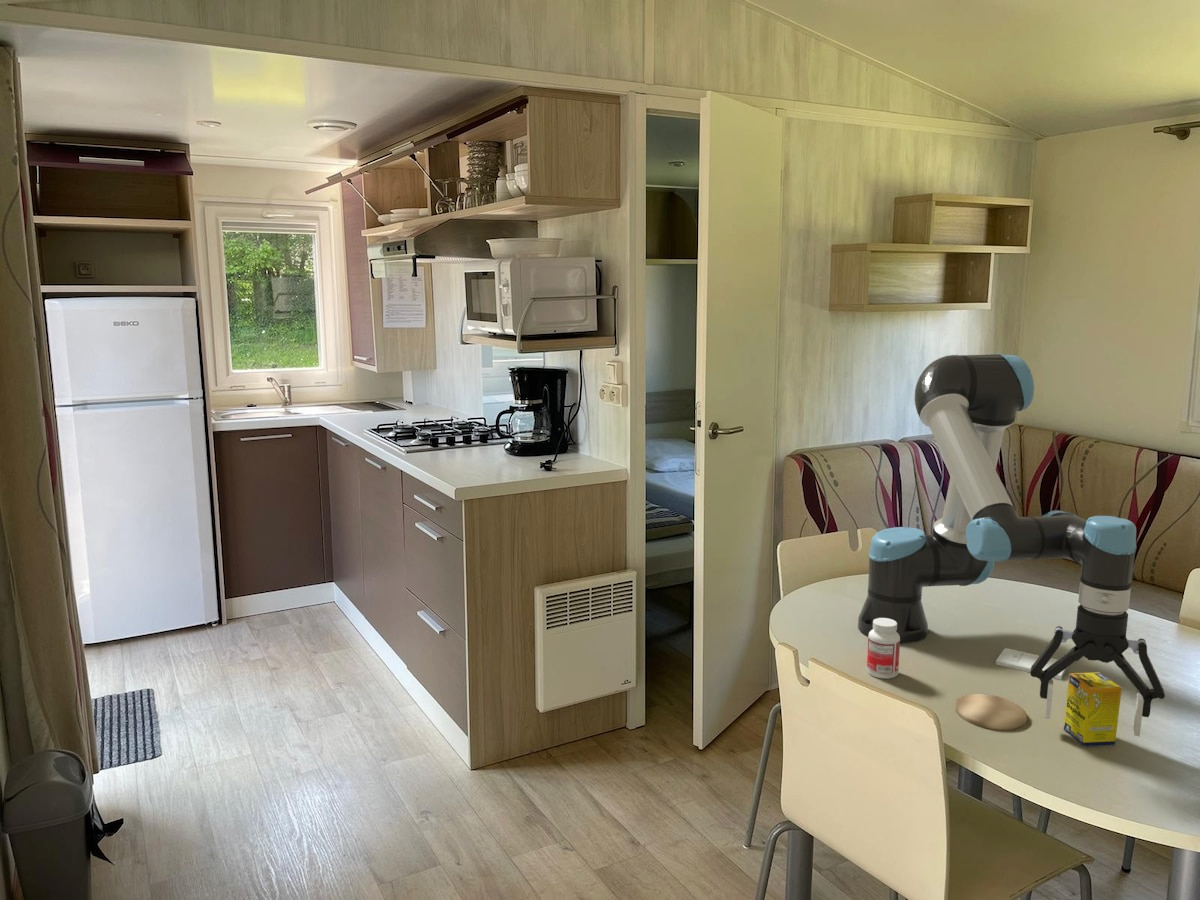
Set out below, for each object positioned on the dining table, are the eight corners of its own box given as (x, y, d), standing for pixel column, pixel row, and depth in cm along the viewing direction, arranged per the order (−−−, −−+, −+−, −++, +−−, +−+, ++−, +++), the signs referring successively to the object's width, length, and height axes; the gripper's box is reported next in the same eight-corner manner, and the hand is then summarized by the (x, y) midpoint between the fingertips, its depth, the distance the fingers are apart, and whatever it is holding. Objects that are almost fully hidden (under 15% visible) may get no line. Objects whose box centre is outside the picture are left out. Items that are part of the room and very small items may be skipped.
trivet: (952, 720, 163) (952, 715, 162) (959, 694, 173) (959, 689, 173) (1024, 735, 157) (1025, 730, 157) (1027, 707, 168) (1027, 702, 167)
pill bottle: (882, 664, 186) (885, 614, 184) (904, 675, 181) (907, 624, 179) (860, 670, 184) (862, 619, 182) (881, 682, 178) (884, 629, 176)
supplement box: (1062, 730, 159) (1068, 672, 157) (1094, 728, 160) (1100, 671, 158) (1082, 747, 153) (1089, 688, 151) (1116, 745, 154) (1122, 686, 152)
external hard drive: (1060, 682, 179) (995, 666, 186) (1068, 668, 185) (1004, 653, 193) (1061, 675, 179) (995, 659, 186) (1069, 661, 185) (1005, 646, 192)
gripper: (1021, 603, 154) (1011, 717, 158) (1193, 627, 143) (1178, 750, 146) (1022, 590, 160) (1013, 700, 164) (1187, 612, 149) (1173, 730, 153)
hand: (1091, 724), depth 155 cm, fingers open, 13 cm apart
